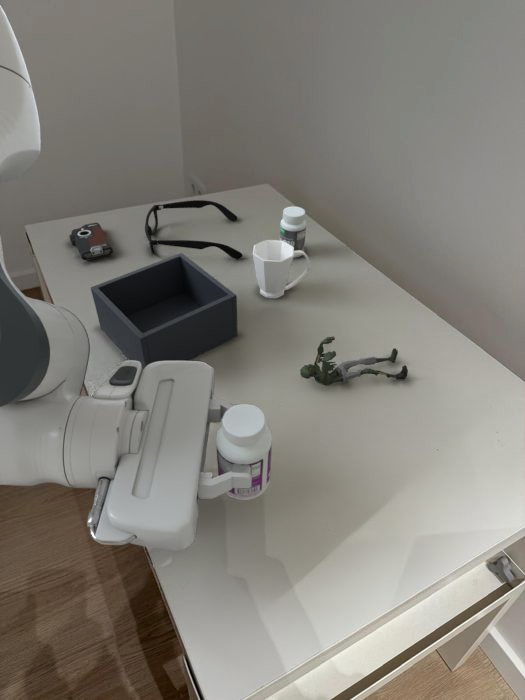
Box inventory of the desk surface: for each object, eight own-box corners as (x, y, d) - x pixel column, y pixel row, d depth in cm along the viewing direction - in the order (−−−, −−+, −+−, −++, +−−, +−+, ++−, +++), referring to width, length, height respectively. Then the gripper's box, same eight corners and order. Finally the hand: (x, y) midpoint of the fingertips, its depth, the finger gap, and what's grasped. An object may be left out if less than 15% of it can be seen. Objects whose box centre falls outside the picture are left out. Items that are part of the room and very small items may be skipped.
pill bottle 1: (236, 450, 56) (236, 389, 50) (279, 472, 54) (283, 411, 48) (208, 487, 53) (203, 426, 46) (251, 511, 51) (253, 451, 44)
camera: (75, 252, 91) (64, 226, 99) (80, 265, 93) (69, 239, 101) (110, 242, 93) (97, 217, 101) (114, 255, 95) (101, 230, 103)
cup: (246, 283, 90) (246, 242, 84) (300, 274, 92) (303, 233, 87) (258, 306, 85) (259, 264, 79) (315, 296, 87) (319, 255, 82)
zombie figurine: (416, 346, 68) (306, 363, 65) (405, 382, 72) (303, 398, 70) (399, 320, 72) (295, 335, 69) (391, 355, 76) (293, 370, 74)
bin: (148, 381, 72) (140, 338, 66) (100, 328, 80) (90, 287, 75) (237, 336, 79) (236, 295, 74) (185, 292, 87) (181, 252, 82)
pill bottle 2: (273, 251, 98) (275, 210, 92) (292, 243, 100) (294, 202, 94) (290, 261, 95) (293, 220, 89) (309, 253, 97) (312, 212, 92)
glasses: (151, 224, 106) (147, 202, 103) (237, 218, 107) (235, 195, 104) (146, 268, 94) (141, 244, 91) (243, 261, 95) (241, 237, 91)
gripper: (71, 522, 40) (248, 528, 40) (128, 349, 55) (257, 353, 55) (87, 561, 44) (248, 566, 44) (136, 389, 60) (256, 393, 60)
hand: (253, 446), depth 50 cm, fingers closed on pill bottle 1, 5 cm apart
